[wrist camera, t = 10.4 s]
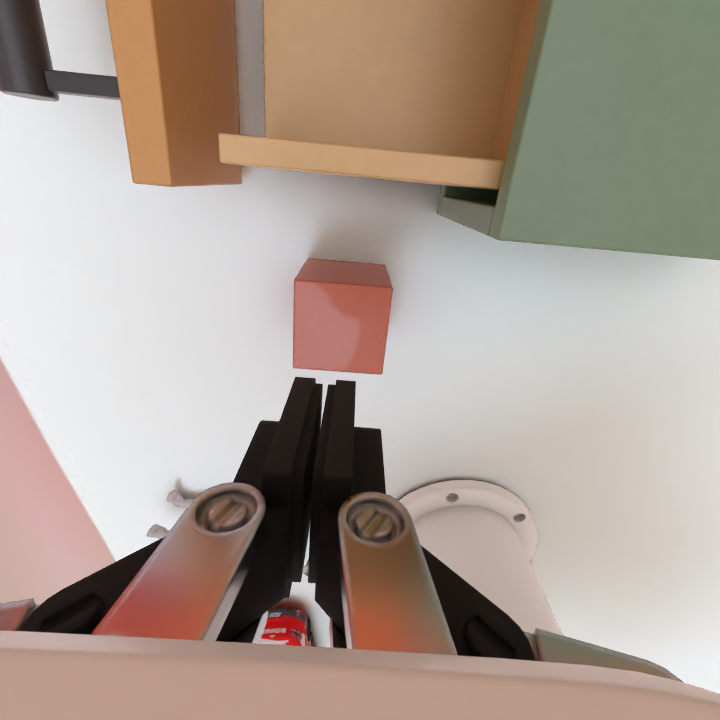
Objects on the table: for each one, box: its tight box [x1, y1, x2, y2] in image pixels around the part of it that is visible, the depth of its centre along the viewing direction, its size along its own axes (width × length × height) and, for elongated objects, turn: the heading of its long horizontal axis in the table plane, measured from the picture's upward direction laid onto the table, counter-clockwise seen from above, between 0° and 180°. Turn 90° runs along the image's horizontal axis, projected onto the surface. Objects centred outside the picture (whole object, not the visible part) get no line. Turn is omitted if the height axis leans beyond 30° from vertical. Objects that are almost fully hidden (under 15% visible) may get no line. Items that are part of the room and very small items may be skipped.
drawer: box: [0, 0, 541, 190], centre depth 13 cm, size 19×12×8 cm, turn 85°
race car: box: [259, 608, 315, 647], centre depth 35 cm, size 13×5×4 cm, turn 3°
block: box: [293, 259, 393, 375], centre depth 20 cm, size 4×4×5 cm
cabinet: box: [437, 0, 720, 260], centre depth 14 cm, size 15×13×10 cm
